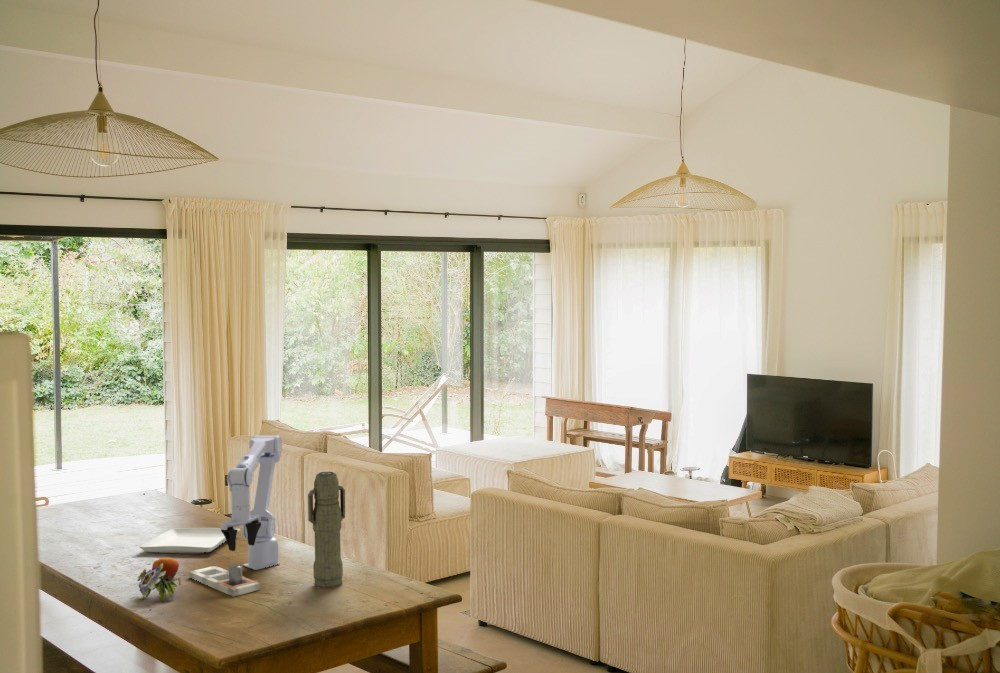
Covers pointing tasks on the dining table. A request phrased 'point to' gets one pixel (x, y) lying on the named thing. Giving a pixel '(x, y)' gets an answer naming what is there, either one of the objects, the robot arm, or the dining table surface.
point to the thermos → (327, 529)
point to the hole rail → (223, 581)
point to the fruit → (167, 566)
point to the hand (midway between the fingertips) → (241, 547)
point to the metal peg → (235, 575)
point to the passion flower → (156, 582)
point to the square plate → (186, 540)
